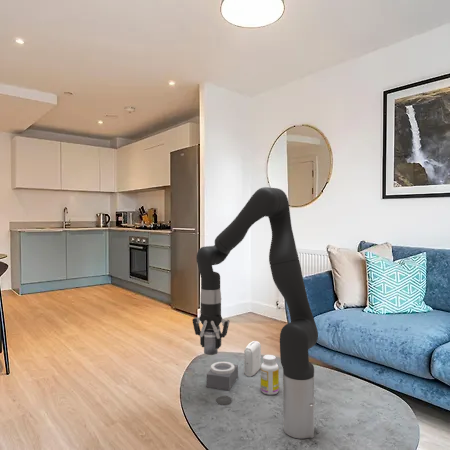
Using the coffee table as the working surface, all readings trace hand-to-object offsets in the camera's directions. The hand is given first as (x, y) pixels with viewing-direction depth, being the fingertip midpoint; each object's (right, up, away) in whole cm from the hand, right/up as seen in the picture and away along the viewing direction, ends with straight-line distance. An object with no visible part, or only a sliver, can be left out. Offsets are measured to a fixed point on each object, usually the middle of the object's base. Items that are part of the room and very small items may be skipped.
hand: (210, 347), depth 133 cm
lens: (0, -2, 0) cm, 2 cm away
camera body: (+4, -17, +10) cm, 20 cm away
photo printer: (+17, -17, +20) cm, 31 cm away
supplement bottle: (+22, -17, +3) cm, 28 cm away
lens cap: (+5, -18, -5) cm, 19 cm away
